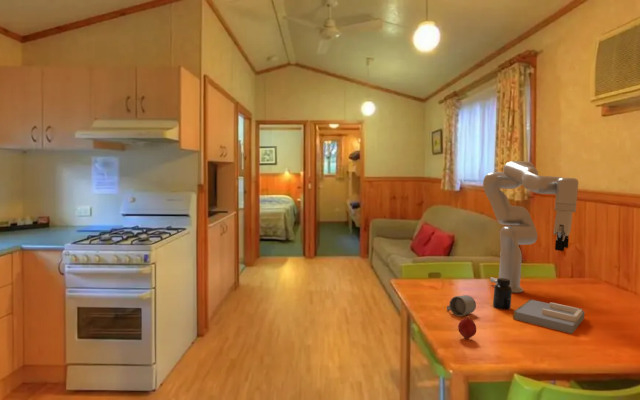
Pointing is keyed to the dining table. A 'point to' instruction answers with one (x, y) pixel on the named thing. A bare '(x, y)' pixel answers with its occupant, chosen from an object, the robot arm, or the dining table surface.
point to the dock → (550, 315)
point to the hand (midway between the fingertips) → (561, 248)
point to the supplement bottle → (502, 294)
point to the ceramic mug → (462, 305)
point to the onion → (467, 328)
